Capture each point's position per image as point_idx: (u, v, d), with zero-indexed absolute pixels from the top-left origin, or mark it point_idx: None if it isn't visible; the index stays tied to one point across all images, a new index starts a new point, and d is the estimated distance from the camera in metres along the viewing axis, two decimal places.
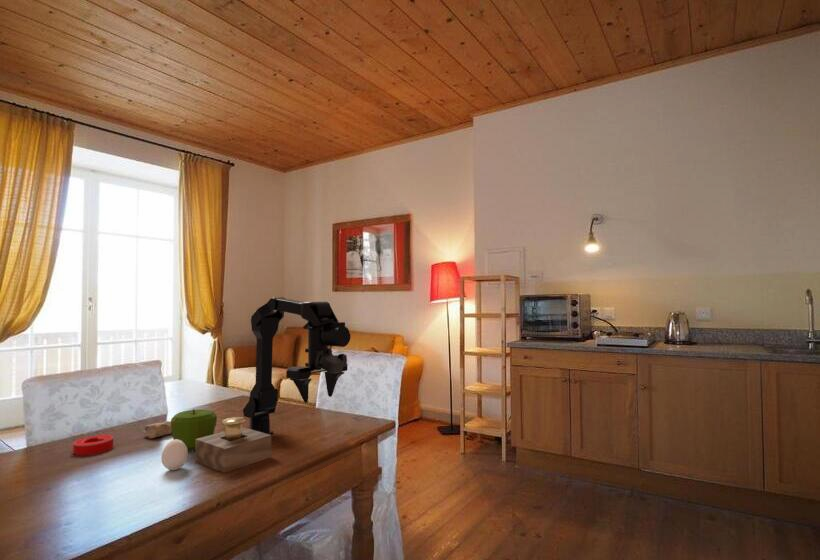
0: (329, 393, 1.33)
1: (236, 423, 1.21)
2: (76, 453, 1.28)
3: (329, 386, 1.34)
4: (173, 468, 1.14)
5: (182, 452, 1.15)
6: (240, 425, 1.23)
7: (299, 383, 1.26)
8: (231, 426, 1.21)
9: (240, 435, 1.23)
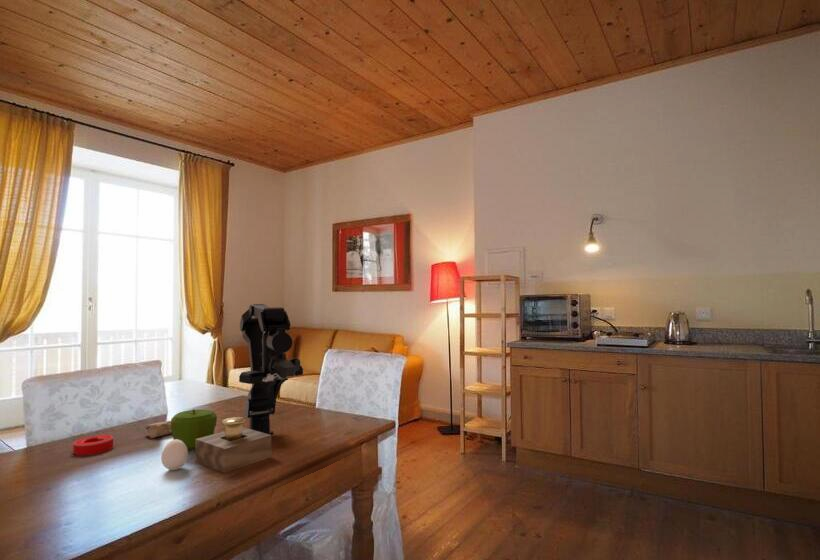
0: None
1: (236, 423, 1.21)
2: (76, 453, 1.28)
3: None
4: (173, 468, 1.14)
5: (182, 451, 1.15)
6: (240, 425, 1.23)
7: (265, 385, 1.32)
8: (231, 426, 1.21)
9: (240, 435, 1.23)
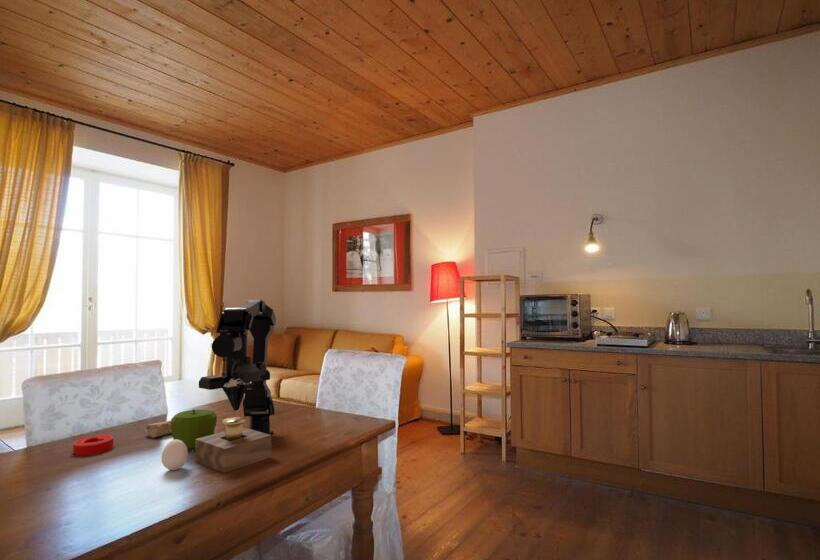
0: None
1: (236, 423, 1.21)
2: (76, 453, 1.28)
3: None
4: (173, 468, 1.14)
5: (182, 452, 1.15)
6: (240, 425, 1.23)
7: (228, 390, 1.23)
8: (231, 426, 1.21)
9: (240, 435, 1.23)
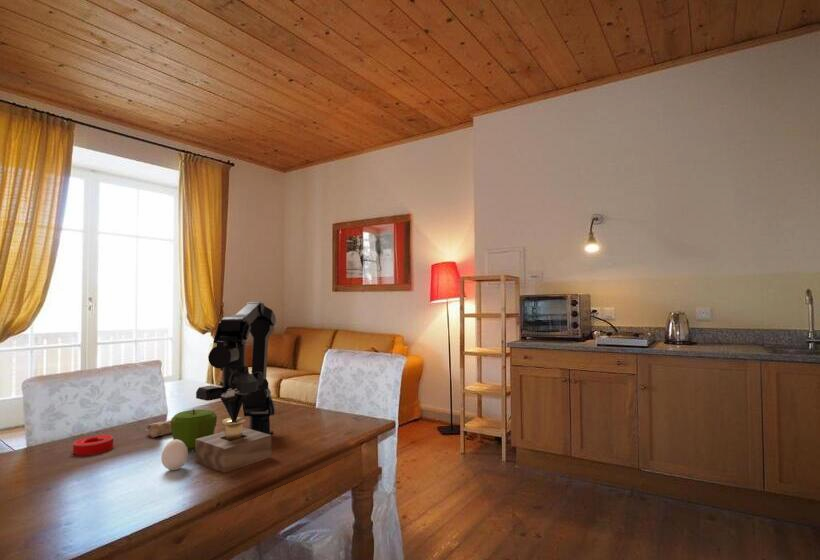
0: None
1: (236, 423, 1.21)
2: (76, 453, 1.28)
3: None
4: (173, 468, 1.14)
5: (182, 452, 1.15)
6: (240, 425, 1.23)
7: (226, 400, 1.23)
8: (231, 426, 1.21)
9: (240, 435, 1.23)
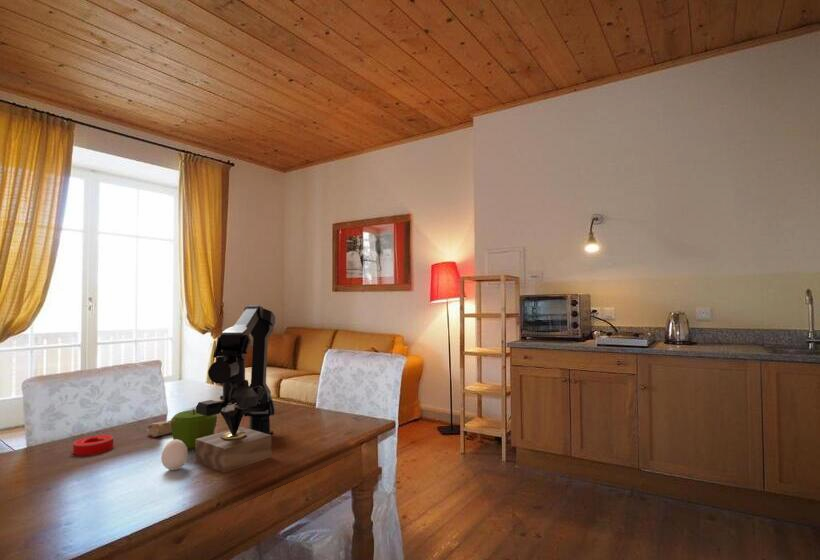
0: None
1: (236, 437, 1.21)
2: (76, 453, 1.28)
3: None
4: (173, 468, 1.14)
5: (182, 452, 1.15)
6: None
7: (226, 414, 1.23)
8: (231, 440, 1.21)
9: None
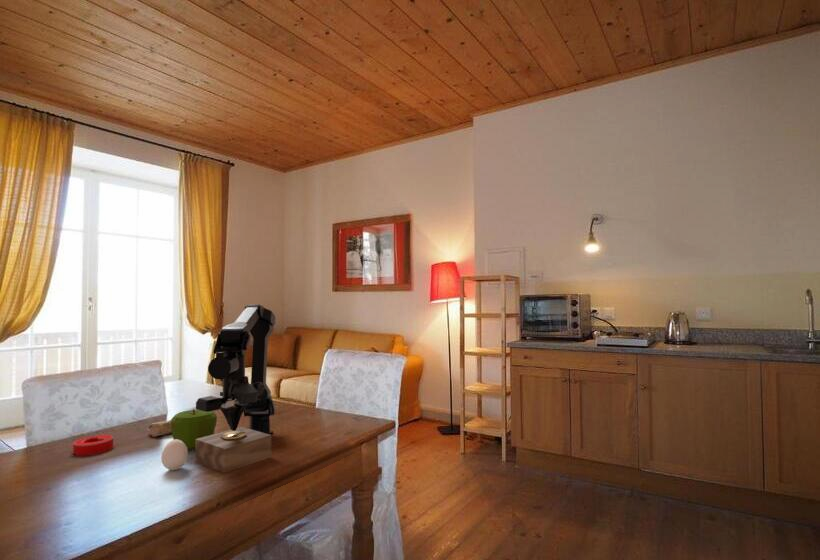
0: None
1: (236, 437, 1.21)
2: (76, 453, 1.28)
3: None
4: (173, 468, 1.14)
5: (182, 452, 1.15)
6: None
7: (226, 411, 1.23)
8: (231, 440, 1.21)
9: None
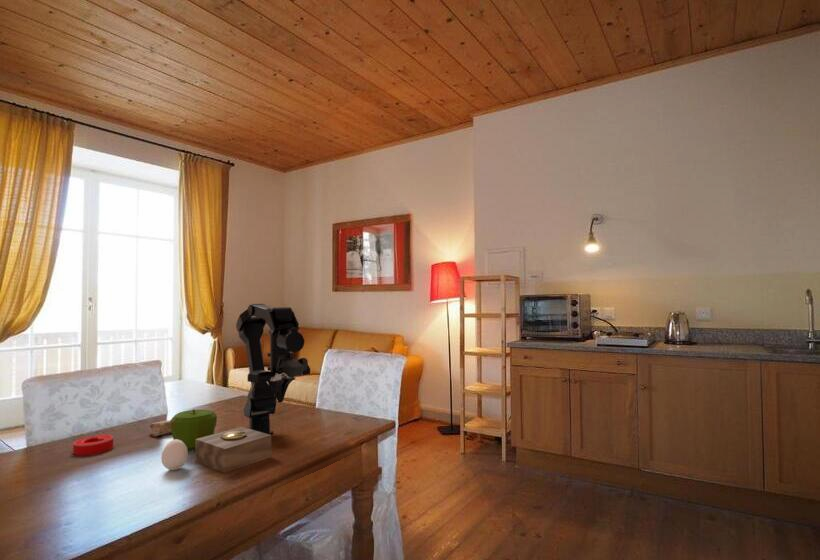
0: None
1: (236, 437, 1.21)
2: (76, 453, 1.28)
3: None
4: (173, 468, 1.14)
5: (182, 451, 1.15)
6: None
7: (273, 384, 1.33)
8: (231, 440, 1.21)
9: None
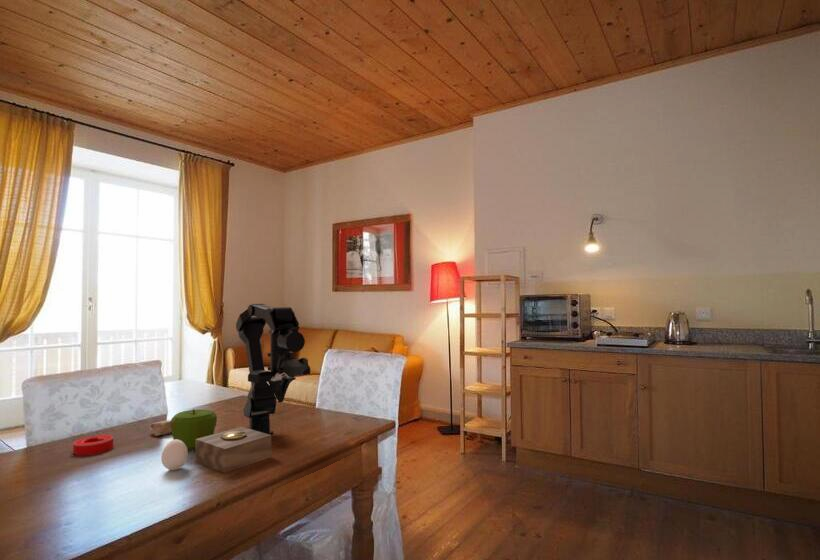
0: None
1: (236, 437, 1.21)
2: (76, 453, 1.28)
3: None
4: (173, 468, 1.14)
5: (182, 452, 1.15)
6: None
7: (273, 384, 1.33)
8: (231, 440, 1.21)
9: None
